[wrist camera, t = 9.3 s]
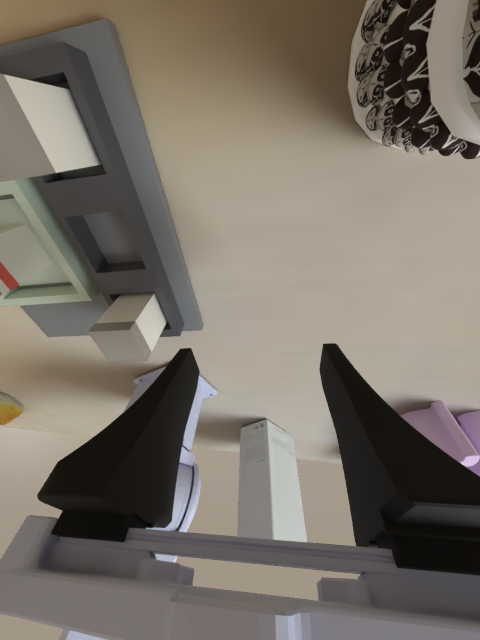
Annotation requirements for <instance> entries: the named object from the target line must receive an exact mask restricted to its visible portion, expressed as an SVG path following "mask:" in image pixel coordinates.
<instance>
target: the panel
mask: <svg viewBox="0 0 480 640" xmlns="http://www.w3.org/2000/svg"><path fill="white" fill-rule="evenodd" d="M0 74H4V75H9V76H13V77H17V78H22V79H26V80H30V81H35V82H39V83H43V84H48V85H52V86H56V87H61V88H65V89H69V90H71V91H72V93H73V95H74V98H75V100H76V103H77V105H78V107H79V110H80V112H81V115H82V117H83V119H84V122H85V124H86V127H87V129H88V131H89V134H90V136H91V138H92V141H93V143H94V146H95V148H96V150H97V153H98V155H99V158H100V160H101V162H102V164H101V165H96V166H90V167H85V168H80V169H74V170H69V171H64V172H58V173H53V174H48V175H42V176H36V177H30V178H24V179H17V180H11V181H5V182H0V227H5V226H13V225H21V224H27V225H28V226H29V228H30V229H31V230H32V232H33V233H34V235H35V236H36V238H37V239H38V241H39V242H40V244H41V245H42V247H43V248H44V249H45V251H46V252H47V254H48V255H49V257H50V258H51V260H52V261H53V264H51V265H49V266H48V267H46V268H45V269H43V270H41V271H40V272H38V273H36V274H35V275H33V276H32V277H30V278H28V279H27V280H25V281H23V282H22V283H20V284H19V286H17V287H16V288H14V289H12V290H10V291H7V292H6V293H4V294H2V295H1V296H0V304H1V306H2V307H6V306H21V307H22V308H23V309H24V311H25V312H26V313H27V314H28V315H29V316H30V317H31V318H32V320H33V321H34V322H35V323H36V324H37V325H38V326H39V327H40V329H41V330H42V331H43V332H44V333H45V334H46V335H47V336H48V337H58V336H80V335H89V333H88V331H89V330H90V329H91V327H92V326H93V325H94V324H95V323H96V322H97V321H98V320H99V318H100V317H101V316H102V315H103V314H104V313H105V312H106V310H107V309H108V308H109V307H110V306H111V305H112V304H113V303H114V301H115V300H116V299H117V298H118V297H119V296H120V295H121V294H126V293H140V292H154V291H155V292H156V294H157V296H158V299H159V301H160V304H161V306H162V308H163V311H164V313H165V315H166V318H167V320H168V321H167V323H166V325H165V327H164V329H163V331H162V333H161V335H160V337H169V336H180V335H181V332H182V331H192V330H202V329H203V322H202V318H201V315H200V312H199V308H198V305H197V302H196V298H195V295H194V291H193V288H192V285H191V281H190V278H189V274H188V271H187V268H186V264H185V261H184V258H183V254H182V251H181V247H180V244H179V241H178V237H177V234H176V231H175V227H174V224H173V220H172V217H171V214H170V210H169V207H168V204H167V200H166V197H165V193H164V190H163V187H162V183H161V180H160V176H159V173H158V170H157V166H156V163H155V160H154V156H153V153H152V149H151V146H150V143H149V139H148V136H147V133H146V129H145V126H144V122H143V119H142V116H141V112H140V109H139V105H138V102H137V99H136V95H135V92H134V89H133V85H132V82H131V78H130V75H129V72H128V68H127V65H126V62H125V58H124V55H123V51H122V48H121V45H120V41H119V38H118V34H117V31H116V28H115V24H113V23H112V22H111V21H109V20H108V19H107V18H106V19H102V20H98V21H94V22H90V23H86V24H82V25H78V26H74V27H70V28H66V29H62V30H59V31H55V32H51V33H47V34H43V35H39V36H35V37H31V38H27V39H23V40H19V41H15V42H12V43H8V44H4V45H0Z"/></svg>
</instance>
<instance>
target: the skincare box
mask: <svg viewBox="0 0 480 640" xmlns="http://www.w3.org/2000/svg"><path fill="white" fill-rule="evenodd" d="M238 506H239V507H238V537H248V538H260V539H273V540H285V541H297V542H307V537H306V530H305V524H304V516H303V508H302V502H301V493H300V487H299V479H298V472H297V464H296V457H295V449H294V442H293V436H291V435H290V434H288V433H286V432H285V431H283V430H282V429H280V428H279V427H277V426H276V425H274V424H273V423H271V422H270V421H269V420H267V419H265V420H262V421H260V422H257V423H253V424H249V425H246V426H243V427H241V434H240V467H239V502H238Z"/></svg>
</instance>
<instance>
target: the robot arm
mask: <svg viewBox="0 0 480 640" xmlns="http://www.w3.org/2000/svg"><path fill="white" fill-rule="evenodd" d="M199 372H200V371H199V368H198V366H197V363H196V360H195V358H194V355H193V352H192V350H191V348H185V349H180V350H179V351H178V353H177V354H176V355H175V356H174V358H173V359H172V360H171V361H170V363H169V364H168V365H167V366H165V367H163V368H160V369H158V370H155V371H153V372H150V373H147V374H145V375H142V376H140V377H137V378H135V379H134V380H133V383H135V384H136V385H137V387H136V389H135V391H134V393H133V395H132V397H131V399H130V401H129V403H128V405H127V407H126V409H125V411H124V413H123V414H121V415H120V416H119V417H118V418H117V419H116V420H114V421H113V422H112V423H111V424H110V425H109V426H107V427H106V428H105V429H104V430H102V431H101V432H100V433H98V434H97V435H96V436H95V437H93V438H92V439H91V440H89V441H88V442H87V443H85V444H84V445H82V446H81V447H79V448H78V449H76V450H75V451H73V452H72V453H71V454H69V455H68V456H66V457H65V458H63V459H62V460H60V461H59V462H58V463H57V464H56V466H55V467H54V469H53V471H52V472H51V474H50V475H49V477H48V479H47V480H46V482H45V483H44V485H43V487H42V488H41V490H40V492H39V493H38V495H37V496H38V499H39V500H40V501H42V502H43V503H46V504H48V505H50V506H53V507H55V508H58V509H60V510H62V511H63V512H62V514H61V515H60V517H59V519H58V518H54V517H44V516H32V515H30V516H28V517H26V519H25V520H24V522H23V524H22V525H21V527H20V529H19V530H18V532H17V533H16V535H15V537H14V538H13V540H12V542H11V543H10V545H9V546H8V548H7V550H6V551H5V553H4V555H3V557H2V558H1V560H0V614H3V615H8V616H13V617H18V618H22V619H26V620H30V621H35V622H39V623H43V624H47V625H51V626H55V627H59V628H63V631H62V633H61V636H60V638H59V640H480V476H478V475H477V474H475V473H474V472H473V471H471V470H470V469H468V468H467V467H465V466H464V465H462V464H461V463H460V462H458V461H457V460H455V459H454V458H452V457H451V456H450V455H448V454H447V453H446V452H444V451H443V450H442V449H440V448H439V447H438V446H436V445H435V444H434V443H432V442H431V441H430V440H429V439H427V438H426V437H425V436H424V435H422V434H421V433H420V432H419V431H418V430H416V429H415V428H414V427H413V426H411V425H410V424H409V423H408V422H407V421H406V420H404V419H403V418H402V417H401V416H400V415H399V414H398V413H397V412H395V411H394V410H393V409H392V408H391V407H390V406H389V405H388V404H387V403H386V402H385V401H384V400H383V399H382V398H381V397H380V396H379V395H378V394H377V393H376V392H375V391H374V390H373V389H372V388H371V386H370V385H369V384H368V383H367V382H366V381H365V380H364V379H363V377H362V376H361V375H360V374H359V373H358V372H357V370H356V369H355V368H354V367H353V365H352V364H351V363H350V362H349V360H348V359H347V358H346V356H345V355H344V354H343V352H342V351H341V350H340V348H339V347H338V345H337V344H336V343H335V344H323V349H322V356H321V363H320V375H321V380H322V386H323V390H324V393H325V397H326V400H327V403H328V407H329V410H330V413H331V417H332V420H333V423H334V427H335V430H336V434H337V439H338V444H339V449H340V454H341V459H342V464H343V469H344V475H345V480H346V486H347V492H348V498H349V504H350V510H351V517H352V522H353V530H354V537H355V542H356V546H344V545H332V544H320V543H309V542H297V541H285V540H273V539H260V538H248V537H236V536H224V535H211V534H200V533H188V532H187V529H188V527H189V525H190V524H191V521H192V519H193V516H194V514H195V511H196V508H197V504H198V500H199V495H200V489H201V488H200V487H201V475H200V472H199V468H198V466H197V464H195V463H193V462H194V457H195V454H193V453H191V449H192V444H193V440H194V436H195V431H196V427H197V422H198V418H199V413H200V409H201V404H202V400H203V399H205V398H209V397H212V396H216V395H217V391H216V390H215V389H214V388H213V387H212V386H211V385H210V384H209V383H208V382H207V381H206V380H204V379H203V378H202V377H201V376H200V375H199ZM177 556H182V557H193V558H202V559H212V560H222V561H232V562H243V563H253V564H264V565H273V566H283V567H294V568H303V569H313V570H324V571H334V572H344V573H354V574H361V575H360V576H359V577H358V580H357V579H343V578H321V580H320V581H318V583H317V588H318V596H319V601H314V600H307V599H298V598H290V597H282V596H273V595H266V594H257V593H248V592H240V591H232V590H223V589H214V588H206V587H197V586H192V582H193V576H194V569H193V568H190V567H186V566H182V565H180V564H179V563H175V561H176V560H177Z"/></svg>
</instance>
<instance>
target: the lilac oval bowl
mask: <svg viewBox="0 0 480 640" xmlns="http://www.w3.org/2000/svg"><path fill="white" fill-rule="evenodd" d="M400 416H401V417H402V418H403V419H404V420H406V421H407V422H408V423H409V424H410V425H411V426H413V427H414V428H415V429H416V430H418V431H419V432H420V433H421V434H422V435H424V436H425V437H426V438H427V439H429V440H430V441H431V442H432V443H434V444H435V445H436V446H438V447H439V448H440V449H442V450H443V451H444V452H446V453H447V454H448V455H450V456H451V457H452V458H454V459H455V460H457V461H458V462H460V463H461V464H462V465H464V466H465V467H467V468H468V469H470V470H471V471H473V472H474V473H475V474H477V475H478V476H480V410H478V411H473V412H469V413H465V414H462V415H460V416H458V417H457V418H458V419H459V421H460V422H461V427H460V426H459V425H458V423H457V422H456V420H455V419H454V417H453V416H452V414H451V413H450V411H449V410H448V408H447V407H446V405H445V404H444V402H443V401H435V402H432V403H431V407H430V408H428V409H422V410H416V411H412V412H408V413H405V414H402V415H400Z"/></svg>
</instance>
